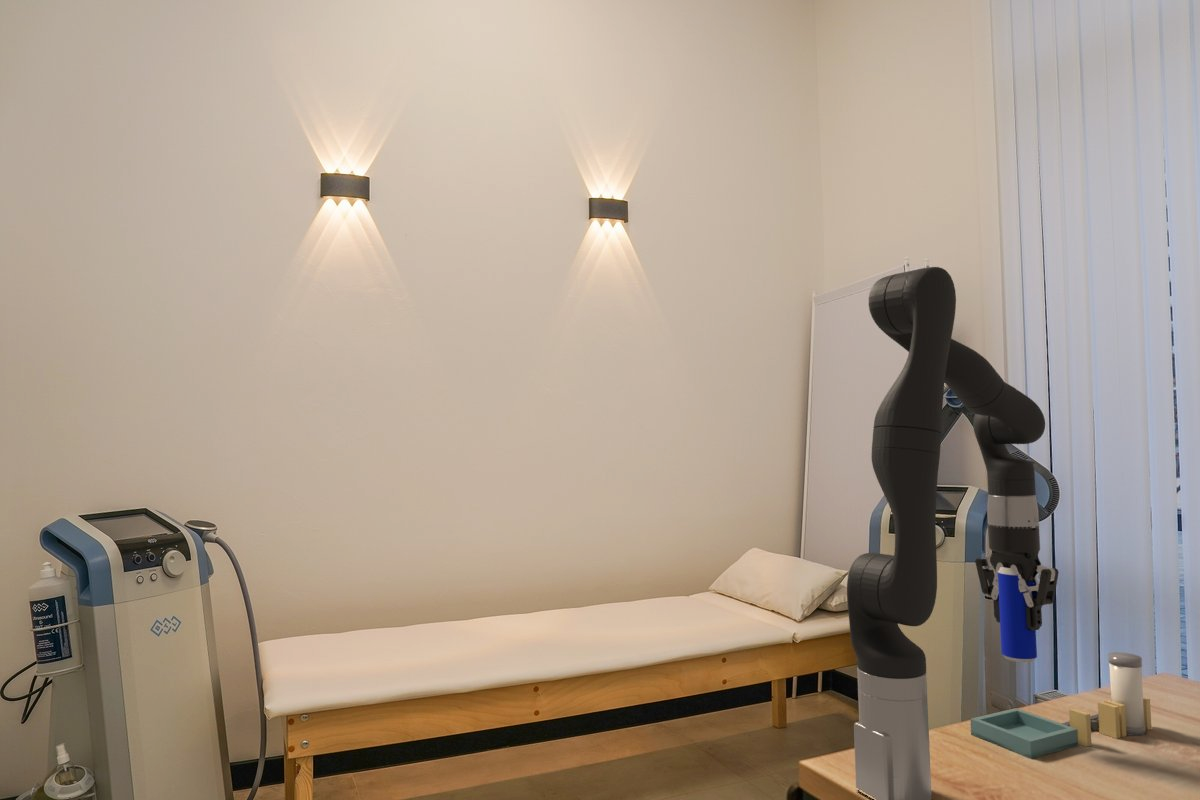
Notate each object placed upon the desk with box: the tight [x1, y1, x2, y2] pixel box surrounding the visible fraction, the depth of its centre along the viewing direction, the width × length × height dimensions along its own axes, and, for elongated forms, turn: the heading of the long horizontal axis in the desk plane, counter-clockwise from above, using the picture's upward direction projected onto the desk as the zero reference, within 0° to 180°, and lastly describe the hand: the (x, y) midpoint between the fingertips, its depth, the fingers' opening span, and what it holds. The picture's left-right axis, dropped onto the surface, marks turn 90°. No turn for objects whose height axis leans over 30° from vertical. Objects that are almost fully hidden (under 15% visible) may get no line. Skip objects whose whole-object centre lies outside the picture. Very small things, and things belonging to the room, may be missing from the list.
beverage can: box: [998, 567, 1038, 663], centre depth 128 cm, size 5×5×15 cm
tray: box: [970, 707, 1079, 759], centre depth 128 cm, size 11×11×3 cm
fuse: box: [1107, 652, 1146, 736], centre depth 131 cm, size 5×5×12 cm
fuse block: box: [1061, 696, 1152, 747], centre depth 130 cm, size 17×6×5 cm, turn 114°
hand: (1017, 625), depth 128 cm, fingers closed on beverage can, 5 cm apart
